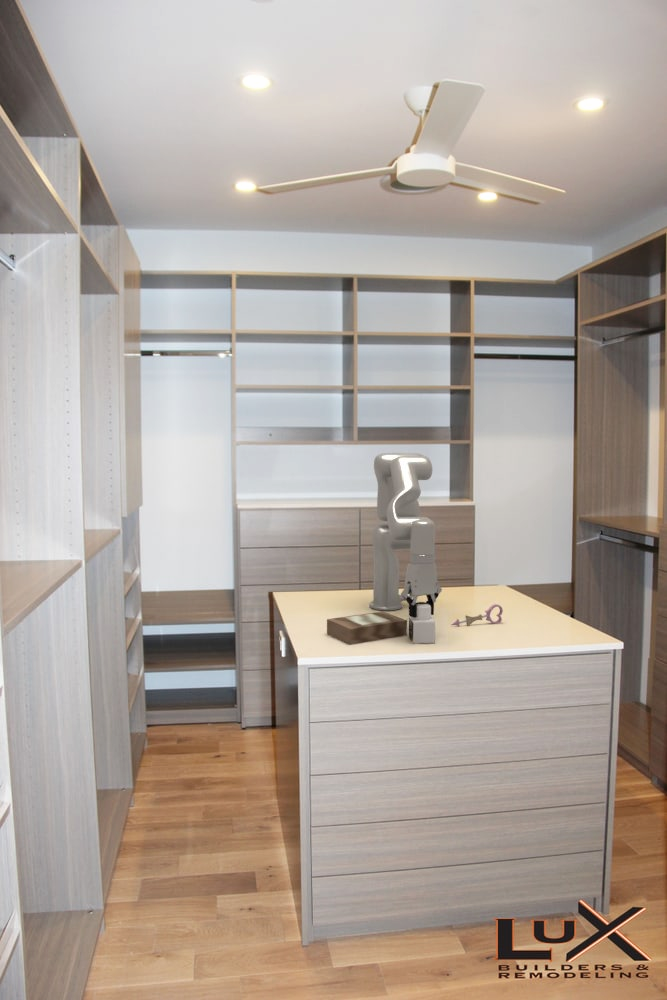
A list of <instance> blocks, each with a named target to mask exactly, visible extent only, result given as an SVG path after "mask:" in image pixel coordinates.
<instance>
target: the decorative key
mask: <svg viewBox="0 0 667 1000" xmlns="http://www.w3.org/2000/svg"><path fill="white" fill-rule="evenodd" d="M496 607H497V608H499V613H497V614H496V615H495V616H496V617H497V618H498V619H497V620H496V621H493V620H492V618H491V613H492V611H493V610H494V608H496ZM503 611H504V610H503V607H502V606H501V605H500V604H497V603H494V604H492V605H490V607H489V608H488V609H486V610H484V612H485V614H484V615H482V614H481V613H480V614H478V615H476V616H470V615H467V614H465V616H464V617H465V619H464V620H459V619H458V618H457V619H456V620H455V621H454V622H453V623H451V624H450V626H457V627H458V628H459V627H461V626H460V624H464V623H465V624H466V626H468V627H470V626H471V625H472V623H474V622H477V621H483V618H484V619H485V621H487V622H490V623H491V624H494V625H498V624H500V623H502V620H503V619H502V615H503Z"/></svg>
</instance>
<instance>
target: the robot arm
mask: <svg viewBox="0 0 667 1000" xmlns="http://www.w3.org/2000/svg"><path fill="white" fill-rule="evenodd" d="M373 470H374V474H375V478H376V482H377V498H376V499H377V500H376V514H377V518H378V519H379V520H380V521H383V522H387V523H381V524H378V525H376V526H374V528H372V531H371V541H372V548H373V601H371V602H369V604H368V607H369V608H370V609H372V610H376V611H384V612H386V611H389V612H390V611H397V610H401V609H403V607H404V606H403V601H406V603H407V604H408V617H409V616H411V617H414V618H416V617H417V605H415V603H417V600H418V597H421V596H426V598H427V599H426V603H429V604H431V606H432V608H431V616H433V615H435V614H434V612H435V611H434V610H435V603H436V601H437V598H438V597H439V596H440V594H441V592H442V591H443V590H442V589H443V588H441V586H440V585H439V584H438V571H437V565H436V562H435V559H437V554H435V545H436V544H435V541H436V538H435V537H436V524H435V522H434V521H433V520H431V518H429V517H426V516H420V513H421V509H420V504H419V500H418V499H419V498H420V496H421V493H422V492H421V491H422V490H421V488H420V483H419V481H427V480H429V479H430V478H431V477H432V474H433V465H432V462H431V459H430V458H429V457H428V456H426V455H424V454H422V453H415V452H414V453H413V452H411V453H410V452H408V453H407V452H404V453H403V452H386V453H383V452H382V453H380V454H377V455H376V456H375V458H374V460H373ZM394 550H410V555H409V559H410V560H409V563H408V564H407V567H406V572H405V580H404V588H403V590H402V591H401V593H400V592H399V590H400V589H399V588H400V585H399V583H400V561H399V558H398V557H397V555H396V554H395V553H394V552H393V551H394ZM399 593H400V594H399Z"/></svg>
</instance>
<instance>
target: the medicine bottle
mask: <svg viewBox="0 0 667 1000" xmlns="http://www.w3.org/2000/svg"><path fill="white" fill-rule="evenodd" d="M415 605H417V617H416V618H414V617H411V616H409V615H408V638H409V640H410V641H411V643H412V644H414V645H415V644H417V645H418V644H435V643H436V620H434V618H433V617H432V615H431V608H432V606H431V604H429V603H426V602H425V601H424V602H423V601H420V602H419V601H418V602H417V601H416V603H415Z"/></svg>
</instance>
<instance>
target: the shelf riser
mask: <svg viewBox="0 0 667 1000" xmlns="http://www.w3.org/2000/svg"><path fill="white" fill-rule="evenodd" d="M326 635H327V636H330V637H332V638H335V639H336V640H339V641H341V642H343V643H346V644H348V645H356V644H362V643H368V642H375V641H380V640H388V639H393V638H398V637H399V638H400V637H404V636H407V635H408V620H407V619H404V618H402V617H399V616H396V615H394V614H390V613H387V612H386V611H384V610H381V611H377V612H376V611H375V612H369V613H361V614H354V615H348V616H339V617H334V618H333V617H332V618H327V619H326Z"/></svg>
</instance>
